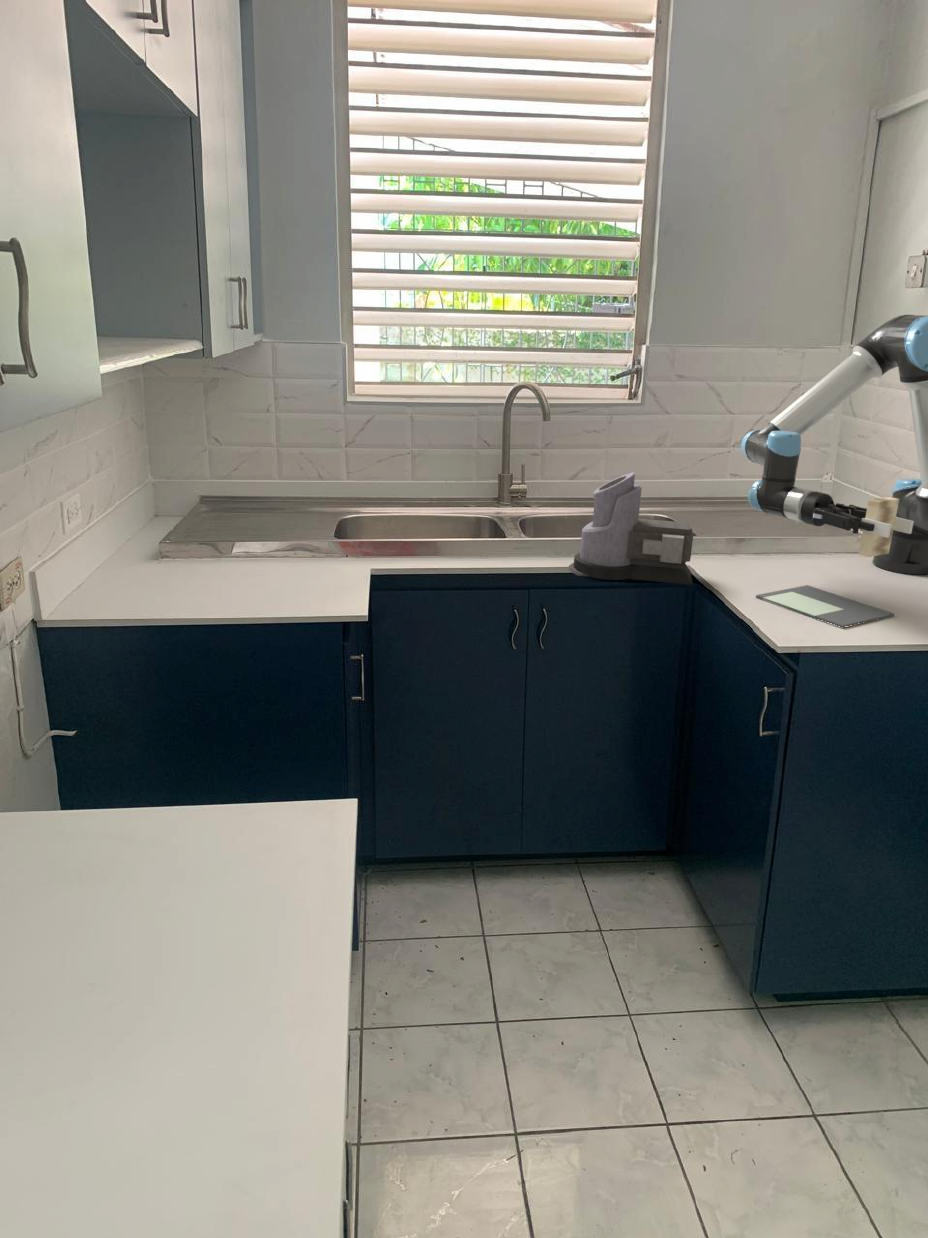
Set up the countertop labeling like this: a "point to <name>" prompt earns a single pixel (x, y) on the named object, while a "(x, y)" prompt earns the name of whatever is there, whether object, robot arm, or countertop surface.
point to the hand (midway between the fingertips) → (900, 529)
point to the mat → (824, 606)
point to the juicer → (631, 540)
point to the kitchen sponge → (880, 512)
